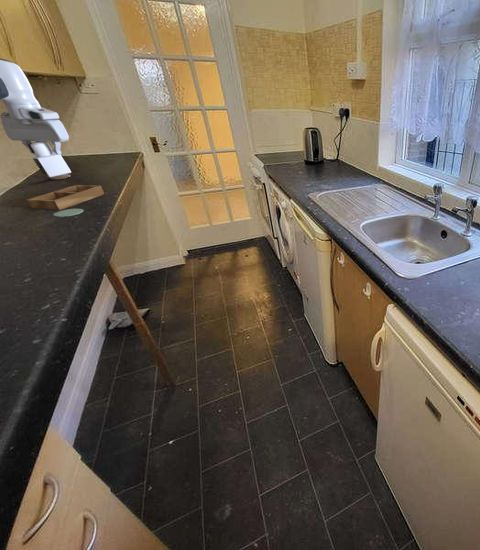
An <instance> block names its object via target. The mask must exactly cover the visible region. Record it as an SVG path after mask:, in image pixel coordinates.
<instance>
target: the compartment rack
mask: <svg viewBox="0 0 480 550" xmlns="http://www.w3.org/2000/svg"><path fill="white" fill-rule="evenodd" d="M103 195H105V192H104V190H103V187H102V186H101V185H85V184H84V185H83V184H74V185H71V186H68V187H65V188H60V189H57V190H54V191H51V192H47V193H44V194H41V195H38V196H37V195H36V196H34V197H30V198H27V199H25V202H26V204H27V206H28V207H29V208H30V209H39V210H55V211H56V210H57V211H62V210H66V209H67V208H71V207H74V206H76V205H78V204H81V203H84V202H87V201H90V200H92V199H95V198H98V197H100V196H103Z"/></svg>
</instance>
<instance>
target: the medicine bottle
mask: <svg viewBox="0 0 480 550" xmlns="http://www.w3.org/2000/svg"><path fill="white" fill-rule="evenodd" d="M28 146H29V148H30V149H31V151H32V152H33V154H32V155H34V156H32V160H33V161H34V163H35V164H36V166H37V167H38V168H39V171H41V173H42V174H43V176H45V177H47V178H49V177H54V176H59V175H63V174H71V173H72V171H71V169H70V167H69V166H68V164H67V162H66V161H65V159H64V158H63V156H62V154H54V152H53V149H54V147H52V144H51V142H48V141H47V142H46V141H41V142H36V141H33V142H31V143H30V144H29V145H28Z"/></svg>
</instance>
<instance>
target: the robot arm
mask: <svg viewBox="0 0 480 550" xmlns="http://www.w3.org/2000/svg"><path fill="white" fill-rule="evenodd" d="M0 101H2V102H3V104H4V107H5V108H6V110H7V112H5V111H3V112H1V114H0V120H1V124H2V127H3V130H4V132H5V134H6V137H7V138H9V140H11V141H16V142H17V141H18V142H19V141H20V142H21V143H22V145H23V146H24V147H25V148H27V149H28V151H29V152H30V154H32V155H34V154H33V152H32V151H31V149H30V148H29V146H28V145H29V144H30V143H32V142H36V141H47V142H49V143H50V144H51V146H52V145H53V152H54V154H60V155H62V154H63V153H62V150H61V148H62V147H61V146H62V143H63V142H64V143H66V142H69V139H70V136H69V133H68V131H67V129H66V128H65V126H64V124H63V122H62V121H61V120H59V119H60V115H59V113H58V112H56V111H53V110H50V109H47V108H45V107H41V104H40V103H39V101H38V99H37V98H36V97H35V94H34V90H33V88H32V85H31V83H30V81H29V79H28V78H27V76H26V74H25V73H24V71H23V70H22V68H21V67H20V66H19V65H18V64H16V63H15V62H13V61H11V60H8V59H4V58H1V57H0Z"/></svg>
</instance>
